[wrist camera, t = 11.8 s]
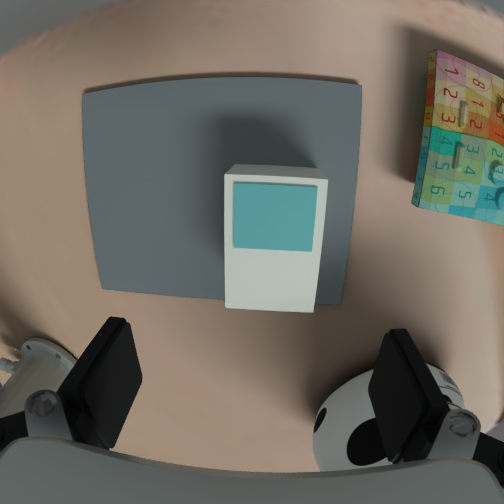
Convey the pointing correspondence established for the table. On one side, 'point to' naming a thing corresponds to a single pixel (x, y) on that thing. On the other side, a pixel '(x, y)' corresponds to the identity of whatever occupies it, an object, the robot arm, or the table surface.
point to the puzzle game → (462, 141)
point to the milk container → (360, 424)
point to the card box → (273, 236)
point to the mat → (209, 173)
